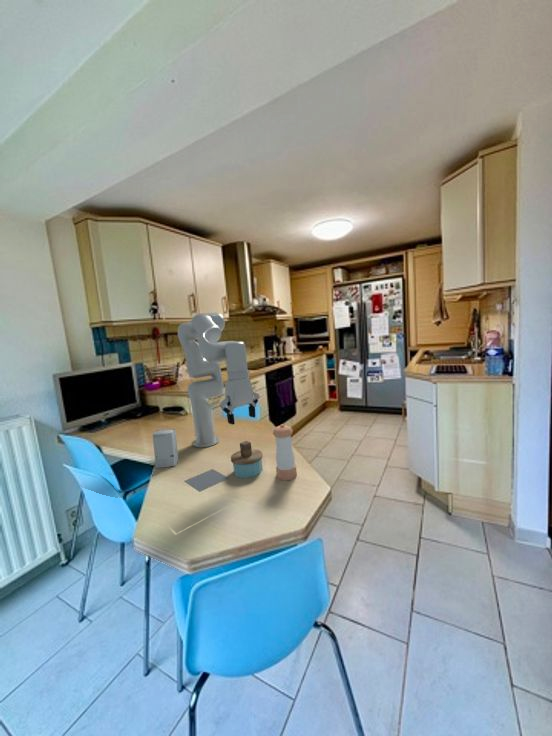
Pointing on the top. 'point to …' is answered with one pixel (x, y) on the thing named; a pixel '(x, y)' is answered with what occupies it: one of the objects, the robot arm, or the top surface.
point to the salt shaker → (284, 453)
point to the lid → (246, 455)
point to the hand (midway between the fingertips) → (242, 420)
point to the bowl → (248, 469)
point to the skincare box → (165, 448)
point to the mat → (206, 480)
